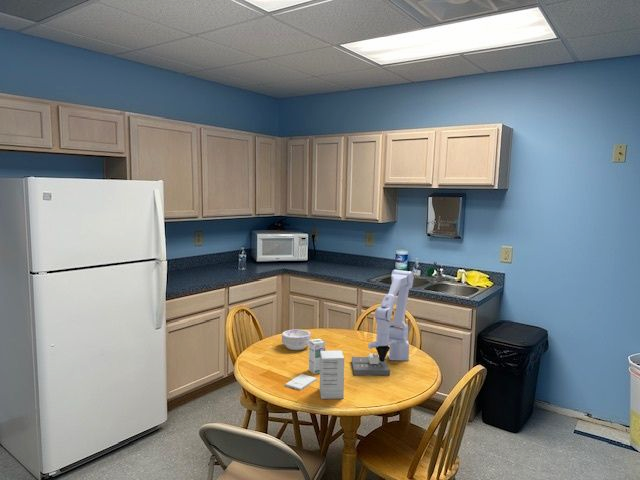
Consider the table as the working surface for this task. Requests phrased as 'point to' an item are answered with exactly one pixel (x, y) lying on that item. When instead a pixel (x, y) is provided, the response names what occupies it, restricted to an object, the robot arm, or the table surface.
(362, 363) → the slide fader panel
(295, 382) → the external hard drive
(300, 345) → the paper bowls
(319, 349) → the syrup box
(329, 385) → the supplement box
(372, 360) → the fader knob
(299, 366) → the table surface
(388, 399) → the table surface
